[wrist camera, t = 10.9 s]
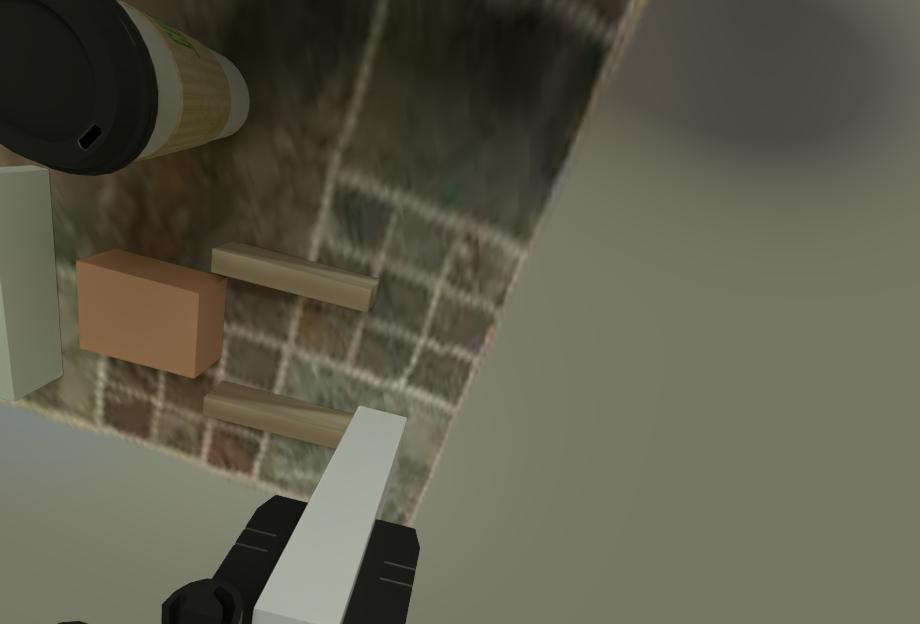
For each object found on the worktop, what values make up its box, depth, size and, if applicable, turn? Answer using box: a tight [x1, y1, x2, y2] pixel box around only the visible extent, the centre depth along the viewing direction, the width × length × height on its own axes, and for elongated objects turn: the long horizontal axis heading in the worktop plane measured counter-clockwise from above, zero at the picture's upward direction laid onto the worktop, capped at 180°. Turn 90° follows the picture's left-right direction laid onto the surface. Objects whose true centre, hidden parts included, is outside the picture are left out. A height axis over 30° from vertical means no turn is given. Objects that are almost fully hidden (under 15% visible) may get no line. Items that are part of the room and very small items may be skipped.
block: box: [76, 248, 227, 379], centre depth 41 cm, size 8×10×4 cm
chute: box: [203, 241, 380, 449], centre depth 42 cm, size 16×13×3 cm
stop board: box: [0, 165, 63, 402], centre depth 41 cm, size 20×1×5 cm, turn 166°
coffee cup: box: [0, 0, 250, 176], centre depth 30 cm, size 10×10×15 cm
